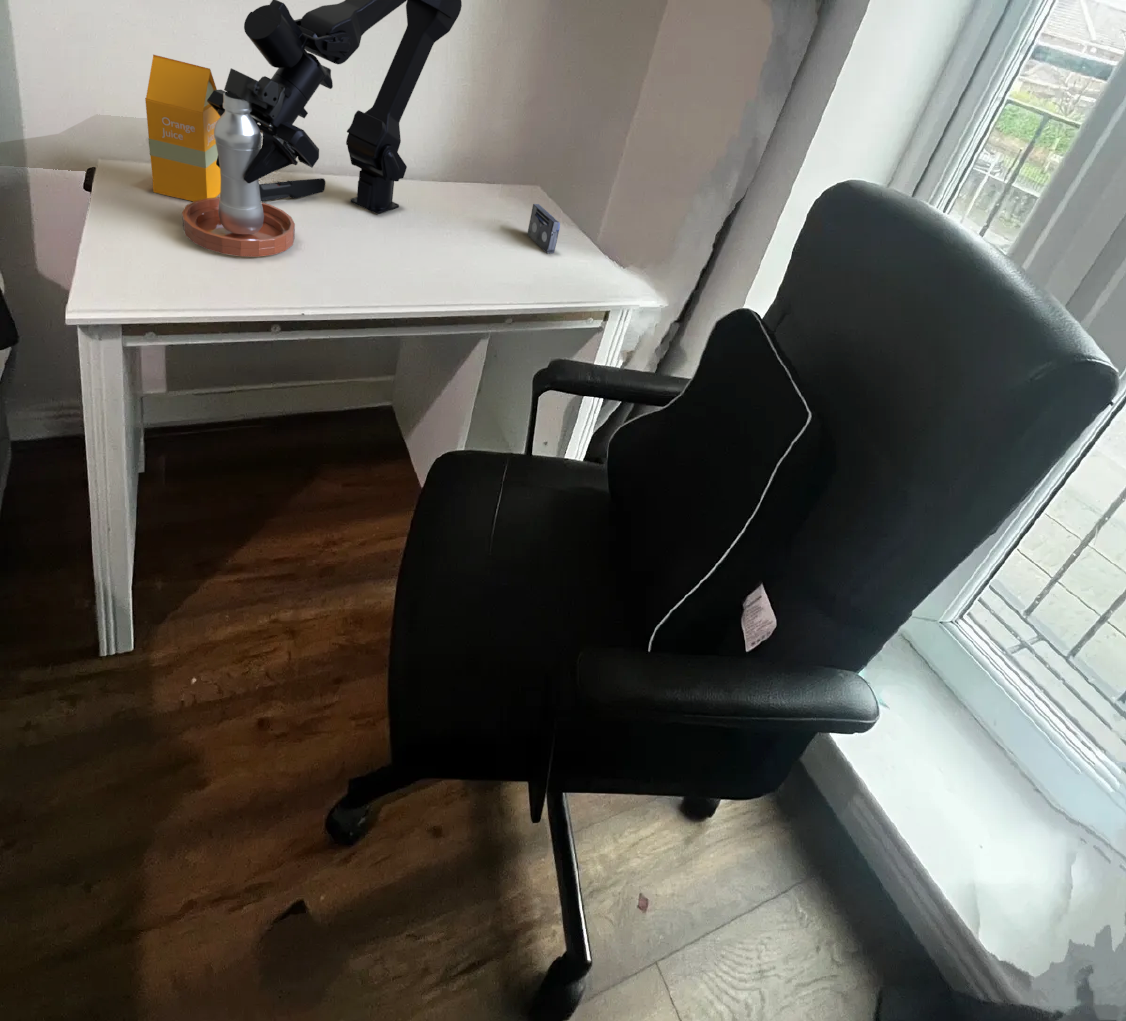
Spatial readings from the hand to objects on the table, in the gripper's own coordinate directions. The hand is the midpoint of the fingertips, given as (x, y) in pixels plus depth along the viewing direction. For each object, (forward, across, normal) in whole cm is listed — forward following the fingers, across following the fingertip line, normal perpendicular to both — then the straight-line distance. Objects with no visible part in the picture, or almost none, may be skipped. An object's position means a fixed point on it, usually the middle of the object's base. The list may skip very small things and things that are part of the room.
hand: (232, 173), depth 122 cm
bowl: (+6, 0, +8) cm, 10 cm away
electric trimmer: (-5, -9, +20) cm, 23 cm away
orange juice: (+4, -18, +11) cm, 21 cm away
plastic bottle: (+6, 0, +8) cm, 9 cm away
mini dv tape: (-26, +26, +42) cm, 56 cm away
